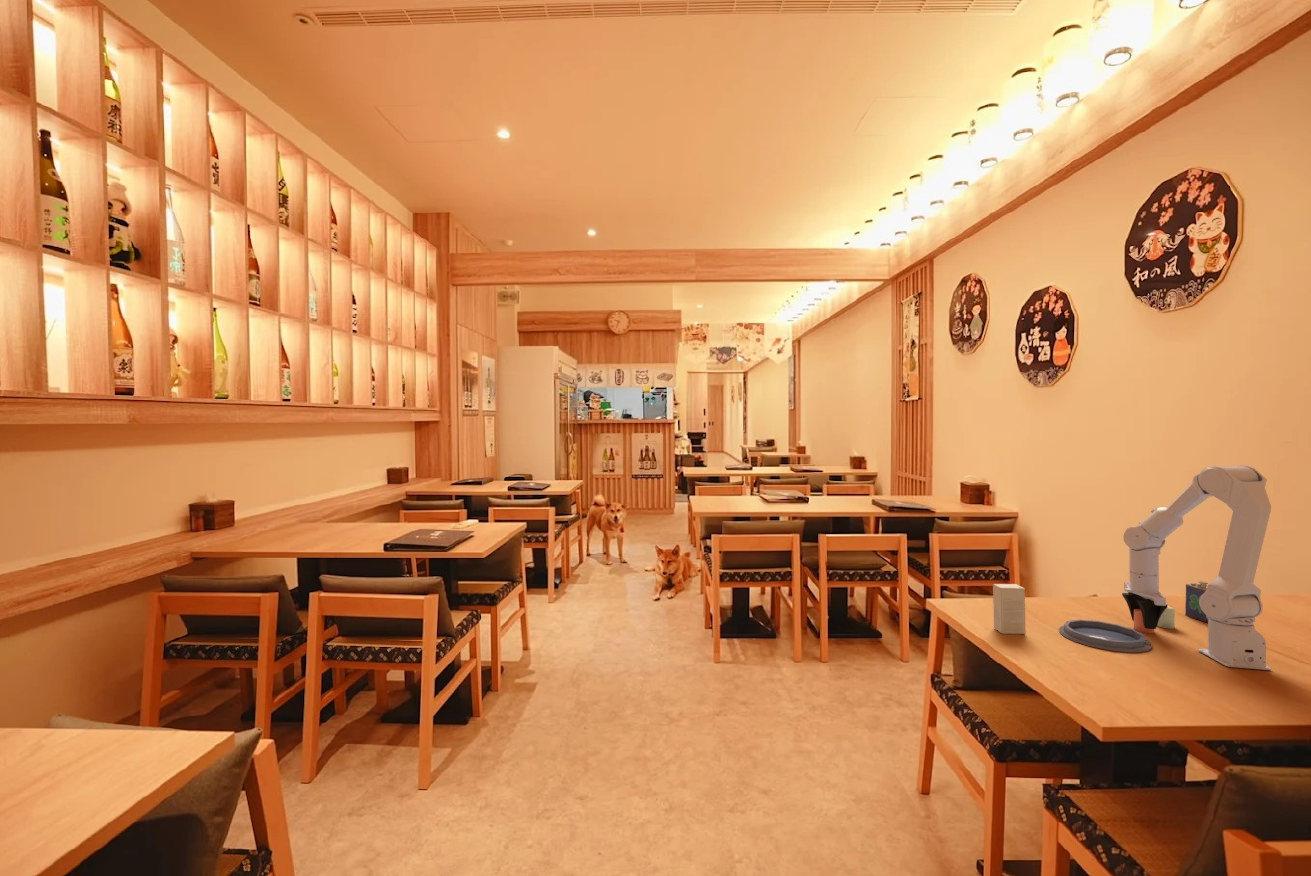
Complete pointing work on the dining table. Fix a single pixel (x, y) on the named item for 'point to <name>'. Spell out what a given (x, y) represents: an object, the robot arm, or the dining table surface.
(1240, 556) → the robot arm
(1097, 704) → the dining table surface
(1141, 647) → the round tray
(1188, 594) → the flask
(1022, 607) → the skincare box
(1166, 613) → the sage bead
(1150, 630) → the vermilion bead
